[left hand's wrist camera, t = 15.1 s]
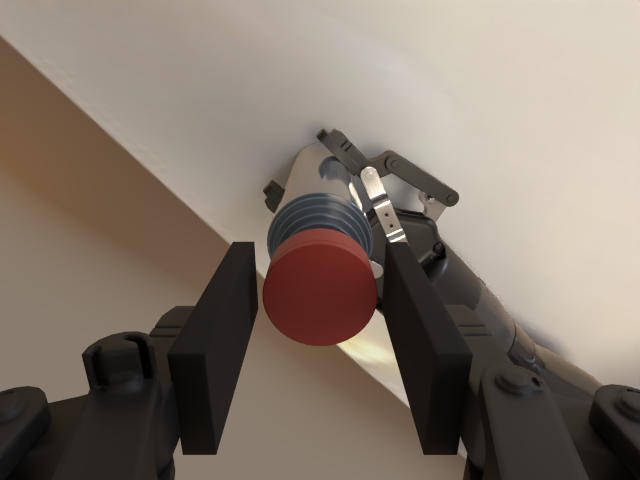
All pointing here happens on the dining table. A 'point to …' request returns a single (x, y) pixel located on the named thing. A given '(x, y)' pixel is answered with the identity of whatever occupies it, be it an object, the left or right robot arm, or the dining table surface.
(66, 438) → the left robot arm
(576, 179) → the dining table surface
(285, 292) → the cap
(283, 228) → the bottle
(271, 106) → the dining table surface
